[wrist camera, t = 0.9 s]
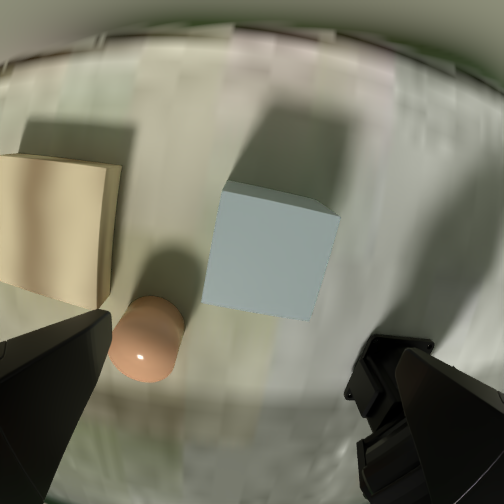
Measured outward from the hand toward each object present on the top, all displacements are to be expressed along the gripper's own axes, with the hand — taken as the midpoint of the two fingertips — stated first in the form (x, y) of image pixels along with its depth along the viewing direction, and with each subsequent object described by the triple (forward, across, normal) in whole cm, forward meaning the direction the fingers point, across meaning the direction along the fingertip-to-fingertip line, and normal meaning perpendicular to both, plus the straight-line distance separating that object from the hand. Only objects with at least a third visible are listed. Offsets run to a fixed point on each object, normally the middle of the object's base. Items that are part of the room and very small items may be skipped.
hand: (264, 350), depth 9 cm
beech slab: (+12, +14, +1) cm, 18 cm away
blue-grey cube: (+12, 0, -1) cm, 12 cm away
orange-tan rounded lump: (+12, +6, +7) cm, 15 cm away
